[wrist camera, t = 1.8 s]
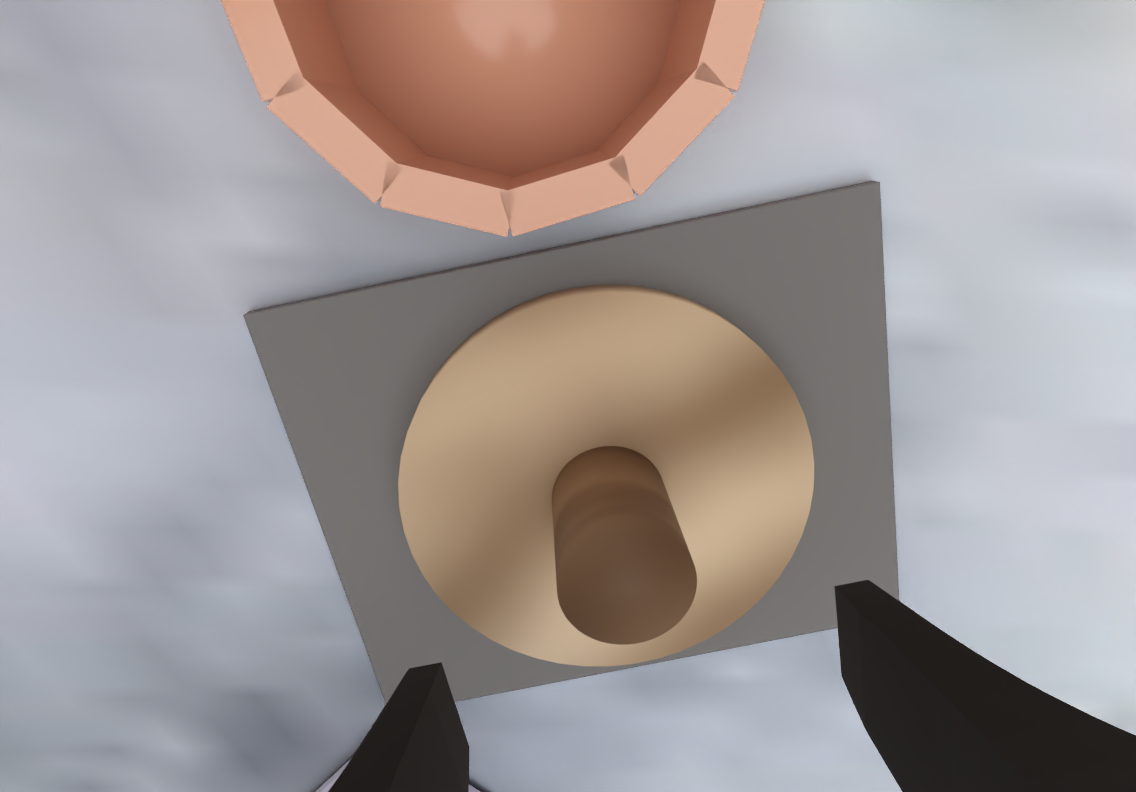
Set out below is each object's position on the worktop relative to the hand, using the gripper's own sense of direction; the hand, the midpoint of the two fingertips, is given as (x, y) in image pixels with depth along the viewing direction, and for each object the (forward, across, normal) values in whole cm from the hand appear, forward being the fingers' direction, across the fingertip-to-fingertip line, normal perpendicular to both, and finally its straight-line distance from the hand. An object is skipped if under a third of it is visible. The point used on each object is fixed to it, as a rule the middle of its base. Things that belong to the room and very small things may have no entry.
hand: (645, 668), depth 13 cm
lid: (+8, 0, 0) cm, 8 cm away
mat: (+8, 0, 0) cm, 8 cm away
